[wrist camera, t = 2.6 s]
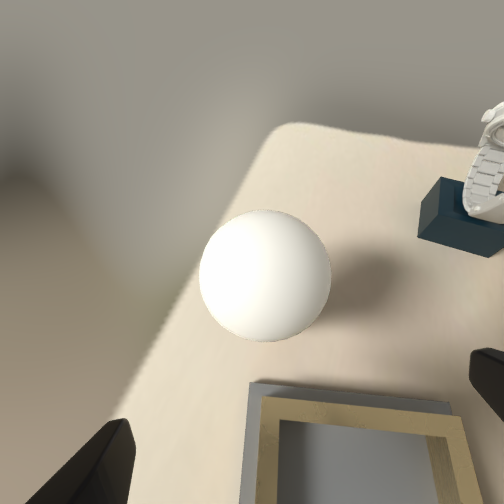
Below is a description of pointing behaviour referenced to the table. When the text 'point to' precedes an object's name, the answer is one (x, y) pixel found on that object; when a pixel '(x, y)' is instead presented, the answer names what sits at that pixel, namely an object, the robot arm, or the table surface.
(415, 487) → the socket plate
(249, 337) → the lightbulb
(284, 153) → the table surface
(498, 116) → the watch
